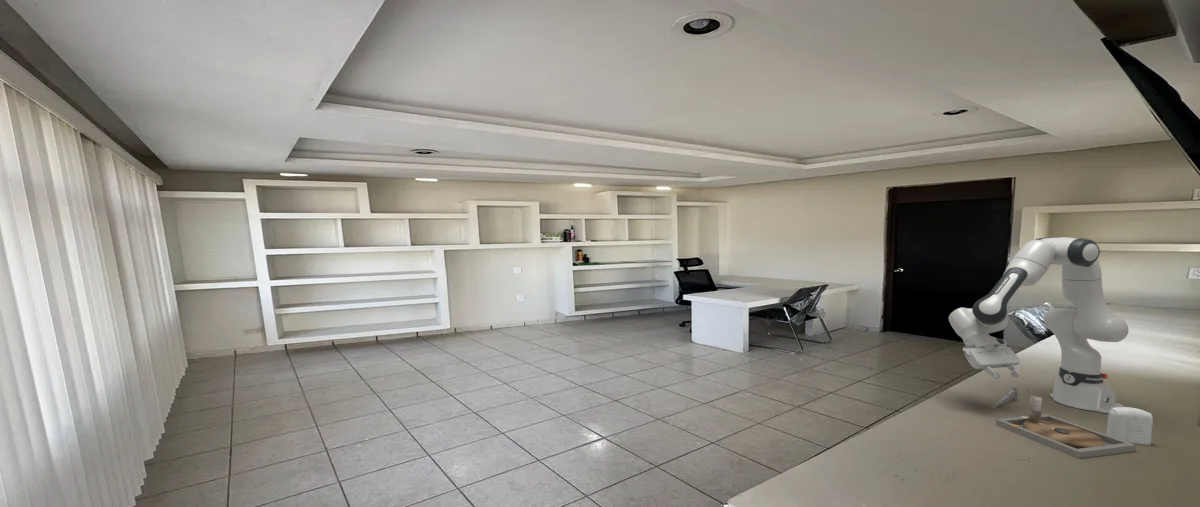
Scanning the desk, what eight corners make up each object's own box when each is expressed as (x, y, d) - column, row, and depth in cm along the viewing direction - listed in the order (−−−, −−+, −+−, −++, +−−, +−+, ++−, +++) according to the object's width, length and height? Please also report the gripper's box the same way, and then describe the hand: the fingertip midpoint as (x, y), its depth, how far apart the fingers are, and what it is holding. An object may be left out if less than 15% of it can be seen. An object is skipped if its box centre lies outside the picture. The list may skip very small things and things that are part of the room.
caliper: (1014, 399, 188) (1014, 385, 187) (1017, 400, 187) (1018, 386, 186) (991, 408, 178) (992, 393, 178) (994, 409, 177) (995, 394, 177)
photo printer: (1142, 442, 150) (1145, 407, 149) (1153, 448, 146) (1156, 412, 145) (1103, 438, 153) (1105, 403, 152) (1113, 444, 149) (1115, 408, 148)
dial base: (1046, 422, 165) (1046, 413, 165) (1135, 454, 142) (1136, 444, 142) (995, 427, 160) (995, 418, 160) (1078, 462, 137) (1079, 451, 137)
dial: (1119, 447, 144) (1121, 415, 143) (1075, 453, 140) (1077, 420, 139) (1049, 422, 162) (1051, 394, 162) (1008, 426, 158) (1010, 397, 158)
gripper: (966, 342, 172) (991, 375, 163) (1008, 340, 176) (1034, 372, 167) (954, 350, 176) (978, 382, 167) (995, 348, 181) (1020, 379, 172)
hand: (1007, 377), depth 167 cm, fingers open, 8 cm apart
